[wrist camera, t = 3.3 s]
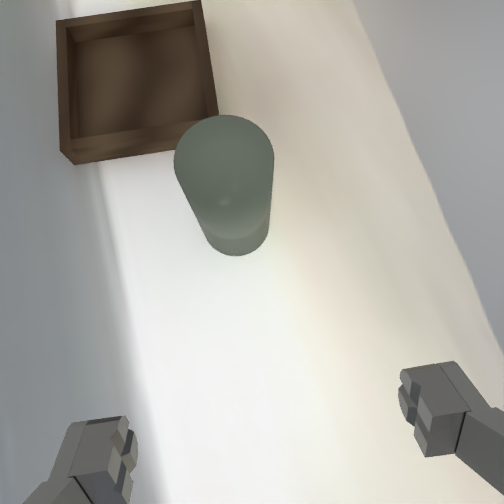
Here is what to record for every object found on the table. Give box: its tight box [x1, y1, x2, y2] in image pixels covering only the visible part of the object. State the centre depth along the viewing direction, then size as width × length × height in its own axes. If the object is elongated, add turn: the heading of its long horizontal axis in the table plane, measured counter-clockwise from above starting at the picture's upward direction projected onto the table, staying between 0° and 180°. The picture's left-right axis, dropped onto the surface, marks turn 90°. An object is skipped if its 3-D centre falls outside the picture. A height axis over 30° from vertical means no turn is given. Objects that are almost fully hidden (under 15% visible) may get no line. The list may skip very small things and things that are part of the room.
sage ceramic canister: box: [174, 115, 274, 256], centre depth 23 cm, size 5×5×10 cm
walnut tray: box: [56, 0, 219, 165], centre depth 30 cm, size 12×12×2 cm
